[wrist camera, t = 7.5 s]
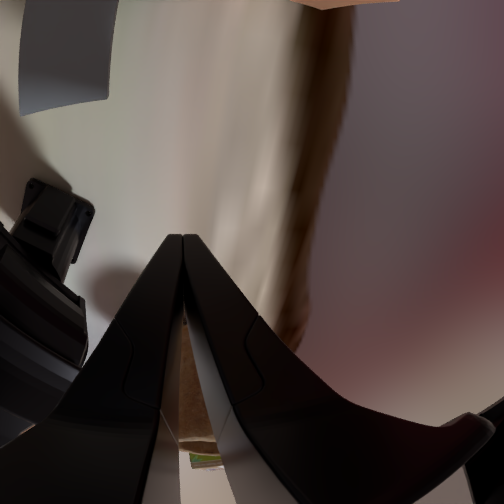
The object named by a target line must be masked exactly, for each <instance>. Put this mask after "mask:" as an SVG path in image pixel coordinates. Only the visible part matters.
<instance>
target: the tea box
mask: <svg viewBox="0 0 504 504" xmlns="http://www.w3.org/2000/svg"><path fill="white" fill-rule="evenodd" d="M189 455H190V462H191V467H192V469H198V470H205V471H214V470H222V469H224V466H223V463H222V460H221V456H208V455H198V454H192V453H189Z"/></svg>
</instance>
